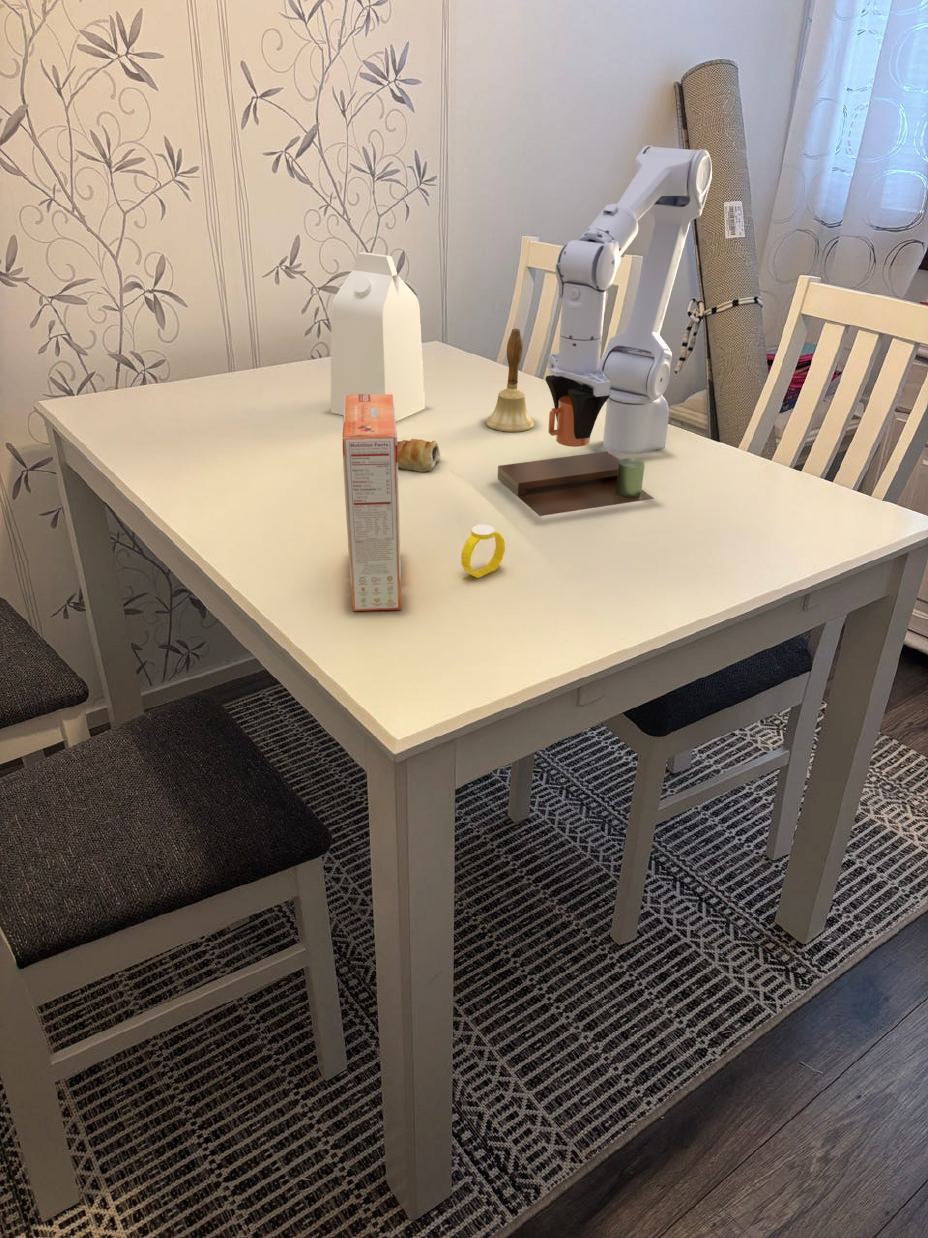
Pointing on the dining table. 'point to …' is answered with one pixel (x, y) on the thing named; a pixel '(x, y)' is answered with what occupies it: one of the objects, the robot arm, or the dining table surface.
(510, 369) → the hand bell
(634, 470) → the tin
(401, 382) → the milk
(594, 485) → the step shelf
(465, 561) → the watch
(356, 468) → the cracker box
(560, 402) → the jug
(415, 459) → the pastry
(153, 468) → the dining table surface
